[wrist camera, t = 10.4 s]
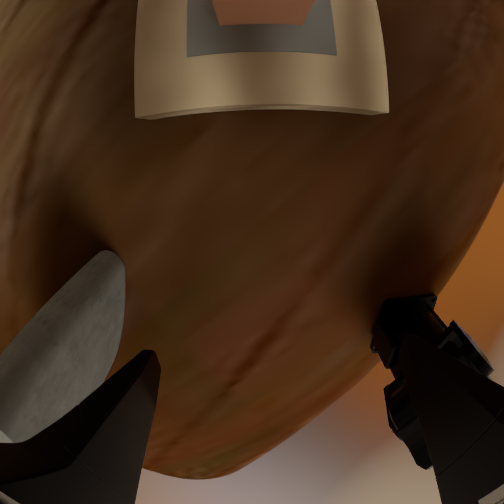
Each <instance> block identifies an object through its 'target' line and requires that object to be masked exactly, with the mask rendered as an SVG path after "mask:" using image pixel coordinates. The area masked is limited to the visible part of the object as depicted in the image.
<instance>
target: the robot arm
mask: <svg viewBox="0 0 504 504" xmlns="http://www.w3.org/2000/svg"><path fill="white" fill-rule="evenodd" d="M436 301H437V296H436V295H435V294H428V295H420V296H413V297H405V298H396V299H388V300H386V301H384V302H383V305H382V309H381V313H380V317H379V320H378V322H377V325H376V329H375V332H374V336H373V340H372V342H373V343H372V346H371V350H372V352H373V353H378V354H379V356H380V358H381V360H382V362H383V364H384V366H385V368H386V369H391V371H392V374H393V376H394V378H395V380H394V381H393V382H392V383H391V384H389V385H387V386H386V387H385V388H384V394H385V401H386V407H387V415H388V421H389V426H390V428H391V429H392V431H393V433H395V435H396V436H397V437H398V438H399V439H400V440H402V441H403V442H404V443H405V444H406V446H407V447H408V448H409V450H410V452H411V454H412V456H413V458H414V460H415V462H416V464H417V465H418V466H420V467H422V468H423V469H425V470H428V469H430V468H431V467H433V468H434V472H435V476H436V481H437V485H438V489H439V493H440V498H441V502H442V504H504V387H503V386H501V385H499V384H497V383H495V382H494V381H492V379H491V378H490V377H489V375H490V374H491V373H492V372H493V371H494V369H493V367H492V365H491V364H490V362H489V361H488V359H487V358H486V356H485V355H484V353H483V352H482V350H481V349H480V348H479V347H478V345H477V344H476V343H475V342H474V341H473V339H472V338H471V337H470V336H469V335H468V334H467V333H466V332H465V331H464V330H463V329H462V328H461V327H460V326H459V325H458V324H457V323H456V322H455V321H454V320H453V321H452V322H451V323H450V326H449V327H447V326H446V325H445V324H444V322H443V321H442V320H441V319H440V318H439V316H438V315H437V314H436V313H435V312H434V311H433V310H434V307H435V304H436ZM388 304H389V305H388ZM387 305H388V306H387ZM160 374H161V367H160V364H159V361H158V358H157V355H156V353H155V351H154V350H142V351H141V352H140V353H139V354H137V355H136V356H135V357H134V358H133V359H131V360H130V361H129V362H128V363H127V364H125V365H124V366H123V367H122V368H121V369H119V370H118V371H117V372H116V373H115V374H114V375H112V376H111V377H110V378H109V379H108V380H106V381H105V382H104V383H103V384H102V385H100V386H99V387H98V388H97V389H96V390H94V391H93V392H92V393H91V394H90V395H88V396H87V397H86V398H85V399H84V400H82V401H81V402H80V403H79V405H76V406H75V407H74V408H73V409H71V410H70V411H69V412H68V413H66V414H65V415H64V416H63V417H61V418H60V419H58V420H57V421H56V422H54V423H53V424H51V425H50V426H48V427H47V428H45V429H44V430H42V431H41V432H39V433H37V434H36V435H34V436H33V437H31V438H30V439H28V440H25V441H23V442H18V443H0V504H135V500H136V494H137V489H138V484H139V479H140V474H141V469H142V465H143V460H144V456H145V451H146V447H147V442H148V438H149V434H150V430H151V426H152V422H153V417H154V413H155V409H156V403H157V395H158V388H159V381H160Z"/></svg>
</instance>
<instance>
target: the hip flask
mask: <svg viewBox="0 0 504 504" xmlns="http://www.w3.org/2000/svg"><path fill="white" fill-rule="evenodd" d="M124 308H125V267H124V264H123V262H122V260H121V259H120V257H119V256H118V255H117V254H115V253H114V252H112V251H108V250H104V251H101V252H99V253H98V254H97V255H96V256H94V257H93V258H92V259H91V260H90V261H89V262H88V263H87V264H86V265H85V266H83V267H82V268H81V269H80V270H79V271H78V272H77V273H76V274H75V275H74V276H73V277H72V278H71V279H70V280H69V281H68V282H67V283H66V284H65V285H64V286H63V287H62V288H61V289H60V290H59V291H58V292H57V293H56V294H55V295H54V296H53V297H52V298H51V299H50V300H49V301H48V302H47V303H46V304H45V305H44V306H43V307H42V308H41V309H40V310H39V311H38V312H37V313H36V314H35V315H34V317H33V318H32V319H31V320H30V321H29V322H28V323H27V324H26V325H25V327H24V328H23V329H22V330H21V331H20V332H19V333H18V335H17V336H16V337H15V338H14V339H13V340H12V342H11V343H10V344H9V345H8V346H7V348H6V349H5V350H4V351H3V352H2V354H1V355H0V443H18V442H23V441H25V440H28V439H30V438H31V437H33V436H34V435H36V434H37V433H39V432H41V431H42V430H44V429H45V428H47V427H48V426H50V425H51V424H53V423H54V422H56V421H57V420H58V419H60V418H61V417H63V416H64V415H65V414H66V413H68V412H69V411H70V410H71V409H73V408H74V407H75V406H76V405H79V403H80V402H81V401H82V400H84V399H85V398H86V397H87V396H88V395H90V394H91V393H92V392H93V391H94V390H96V389H97V388H98V387H99V386H100V385H102V384H103V382H104V380H105V378H106V376H107V374H108V372H109V370H110V368H111V366H112V363H113V361H114V359H115V356H116V354H117V350H118V347H119V343H120V338H121V333H122V326H123V319H124Z"/></svg>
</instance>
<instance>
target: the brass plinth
mask: <svg viewBox="0 0 504 504" xmlns="http://www.w3.org/2000/svg"><path fill="white" fill-rule="evenodd" d="M134 98H135V118H141V119H148V120H154V119H160V118H166V117H173V116H181V115H189V114H198V113H208V112H220V111H235V110H260V109H295V110H320V111H335V112H347V113H356V114H365V115H376V114H384V113H389V98H388V82H387V70H386V60H385V51H384V43H383V36H382V30H381V24H380V18H379V13H378V8H377V3H376V0H315V2H314V4H313V6H312V8H311V9H310V11H309V13H308V15H307V17H306V19H305V21H304V23H303V25H291V24H237V25H222V26H219V23H218V20H217V16H216V13H215V10H214V6H213V3H212V0H138V9H137V20H136V35H135V59H134Z"/></svg>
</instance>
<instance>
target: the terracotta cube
mask: <svg viewBox="0 0 504 504" xmlns="http://www.w3.org/2000/svg"><path fill="white" fill-rule="evenodd" d="M314 2H315V0H212V3H213V6H214V10H215V13H216V16H217V20H218V23H219V26H222V25H237V24H291V25H303V23H304V21H305V19H306V17H307V15H308V13H309V11H310V9H311V8H312V6H313V4H314Z"/></svg>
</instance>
